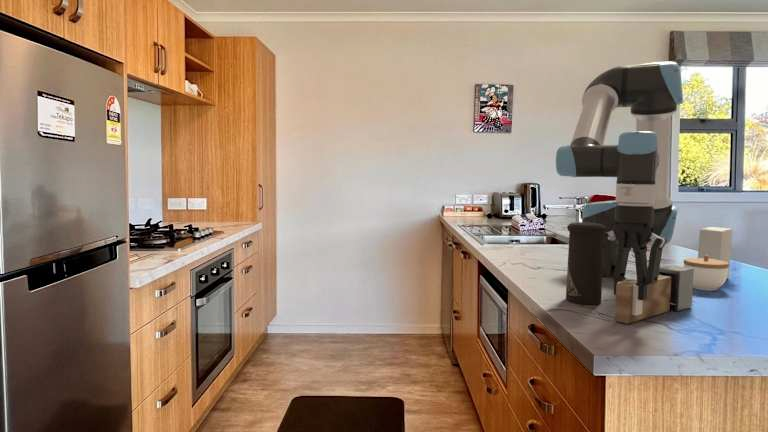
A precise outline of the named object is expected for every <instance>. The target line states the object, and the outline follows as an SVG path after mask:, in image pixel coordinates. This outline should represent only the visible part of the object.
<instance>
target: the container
mask: <svg viewBox="0 0 768 432" xmlns="http://www.w3.org/2000/svg"><path fill="white" fill-rule="evenodd" d="M566 229H567V231H568V232H569V234H568V253H567V255H568V256H567V269H566V271H567V272H566V290H565V299H566V301H568V302H571V303H574V304H579V305H586V306H587V305H590V306H591V305H599V304H601V303H602V290H603V289H602V287H603V286H602V285H603V283H602V282H603V281H602V280H603V276H602V248H603V238H602V233H604V232H605V231H606V227H605V226H604V225H602V224H597V223H590V222H582V221H581V222H571V223H569V224H568V225H567V226H566Z"/></svg>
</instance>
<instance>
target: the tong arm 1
mask: <svg viewBox="0 0 768 432" xmlns="http://www.w3.org/2000/svg"><path fill="white" fill-rule="evenodd" d="M662 276H663V275H658V277H662ZM636 282H637V279H635V280H631V281H628V282H625V283H620V284H616V295H615V307H614V309H615V310H614V312H615V313H614V321H615V322H618V323H619V322H620V323H622V322H621V310H622V288H623V285H627V284H632V283H636Z"/></svg>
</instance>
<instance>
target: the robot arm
mask: <svg viewBox="0 0 768 432" xmlns="http://www.w3.org/2000/svg"><path fill="white" fill-rule="evenodd" d="M682 83H683V82H682V75H681V68H680V65H679V63H677V62H675V61H657V62H656V61H655V62H647V63H640V64H629V65H619V66H615V67H612V68H609V69H608V70H606V71H604V72H602V73H601V74H599V75H598V76H596V77H595V78H594V79H593V80H592V81H591V82H590V83H589V84H588V86H586V88H585V89H584V92H583V94H582V97H581V105H582V109H581V113H580V114H579V115H580V116H579V118H578V121H577V124H576V126H575V130H574V133H573V135H572V138H571V141H570V144H569V145H568V144H567V145H564V146H563V145H562V146H560V147H558V148H557V151H556V153H555V154H556V155H555V170H556V173H557V175H558V176H560V177H572V178H601V177H602V178H616V185H615V200H606V201H605V200H604V201H595V202H594V201H593V202H588V203H586V204H584V205H583V208H582V216H581V219H582V220H581V222H590V223H597V224H602V225H604V226H605V227H606V231H605V232H604V233H602V238H603V248H602V277H606V278H608V277H609V278H611V279H613V294H614V296H616V284H620V283H625V282H629V281H628V280H626V278H627V277H626V271H627V267H628V266H627V265H628V261H629V256H630V251H631V250H632V251H633V253H634V261H635V272H636V273H635V274H636V280H637V283H636V284H635V285H633V304H632V315H635V316H636V315H640V314H642V306H643V300H646V298H647V286H648V285H649V284H652V283H656V282H657V281H658V275H659V268H660V267H661V261H662V255H663V254H662V253H663V249H664V247H665V246H666V244H668V243H670V242H671V241H672V239H673V236H674V235H673V234H674V230H675V227H676V226H675V225H676V221H677V215H678V207H677V206H675V205H673V200H672V199H671V198H670V197H669V196H668V176H669V175H668V173H669V153H670V152H669V151H670V150H669V148H670V128H671V127H670V126H671V125H670V124H671V117H672V116H673V115H674V114H675V113H676V112H677V111H678V109H677V108H678V106H679V105H681V104H683V103H684V98H683V97H684V96H683V85H682ZM616 108H617V109H618V108H630V115H632V116H633V117H634V118H635V119H636V120H635V122H636V123H635V131H625V132H622V133H620V135H619V136H618V142H617V143H618V144H609V145H608V144H604V143H605V140H606V135H607V133H608V132H607V131H608V127H609V124H610V119H611V116H612V113H613V112H614V111H615V109H616ZM648 244H650V245H651V246H650V250H649V251H650V252H649V257H647V252H648V246H647V245H648ZM647 258H649V259H647Z"/></svg>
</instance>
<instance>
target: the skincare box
mask: <svg viewBox="0 0 768 432" xmlns="http://www.w3.org/2000/svg"><path fill="white" fill-rule="evenodd" d="M733 230H734V229H733V228H729V227H718V226H709V227H704V228H700V229H699V235H698V236H699V237H698V250H697V258H704V255H708V259H715V260H721V261H725V262H728V263H729V267H728V275H727V278H726V280H727V279H730V269H731V252H732V240H733Z"/></svg>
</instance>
